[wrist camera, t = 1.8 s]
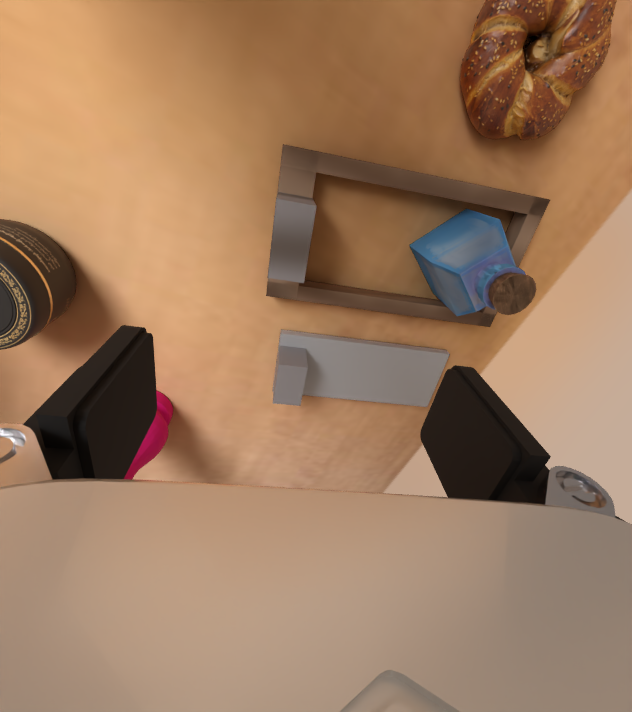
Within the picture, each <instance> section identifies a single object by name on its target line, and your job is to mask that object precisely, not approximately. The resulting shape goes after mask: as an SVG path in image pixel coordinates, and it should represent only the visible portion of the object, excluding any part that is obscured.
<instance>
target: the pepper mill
mask: <svg viewBox="0 0 632 712" xmlns="http://www.w3.org/2000/svg"><path fill="white" fill-rule="evenodd" d="M156 394H157V412H156V416H155V418H154V420H153V422H152V424H151V426H150V428H149V430H148V432H147V434H146V436H145V438H144V440H143V442H142V444H141V446H140V448H139V450H138V452H137V454H136V456H135V458H134V460H133V462H132V464H131V466H130V468H129V470H128V472H127V474H126V476H125V478H124V479H130V480H132V479H133V477H134V475H135V474H136V473H137V471H138V470H139V469H140V468H142V467H143V466H144V465H145V464H147V463H148V462H149V461H151V460H152V459H153V458H154V457H155V456H156V455H157V454H158V453H159V452H160V451H161V449H162V448H163V446H164V444H165V443H166V440H167V438H168V427H167V426H168V425H169V422H170V420H171V418H172V415H173V407H172V405H171V402H170V401H169V400H168V398H167V397H166V396H165V395H163V394H162V393H160V392H158V391H156Z"/></svg>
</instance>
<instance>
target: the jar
mask: <svg viewBox="0 0 632 712" xmlns="http://www.w3.org/2000/svg"><path fill="white" fill-rule="evenodd" d="M75 291H76V276H75V272H74V269H73V267H72V264H71V262H70V261H69V259H68V257H67V256H66V254H65V253H64V252H63V250H62V249H61V248H60V247H59V246H58V245H57V244H56V243H55V242H54V241H53V240H52V239H51V238H49V237H48V236H47V235H45V234H44V233H42V232H41V231H39V230H37V229H35V228H33V227H31V226H29V225H26V224H23V223H20V222H16V221H11V220H4V219H0V350H1V349H7V348H11V347H14V346H17V345H19V344H22V343H23V342H25V341H27V340H28V339H30V338H31V337H33V336H35V335H37V334H38V333H39V332H41V331H42V330H43V329H44V328H45V327H46V326H47V325H48V324H50V323H51V322H52V321H54V320H55V319H56V318H58V317H59V316H60V315H61V314H63V313H64V312H65V311H66V309H67V308H68V307H69V305H70V303H71V301H72V299H73V297H74V295H75Z"/></svg>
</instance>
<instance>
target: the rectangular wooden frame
mask: <svg viewBox="0 0 632 712" xmlns="http://www.w3.org/2000/svg"><path fill="white" fill-rule="evenodd" d="M316 172H317V173H322V174H327V175H332V176H337V177H342V178H347V179H352V180H357V181H362V182H367V183H373V184H378V185H383V186H388V187H393V188H398V189H403V190H408V191H413V192H418V193H423V194H428V195H433V196H438V197H443V198H448V199H453V200H458V201H463V202H469V203H474V204H479V205H484V206H489V207H494V208H499V209H504V210H509V211H514V212H515V213H514V216H513V218H512V220H511V222H510V225H509V227H508V229H507V232H506V234H505V235H506V238H507V241H508V244H509V247H510V250H511V253H512V256H513V259H514V262H515V265H516V267H519V265H520V262H521V260H522V258H523V256H524V254H525V252H526V250H527V248H528V246H529V243H530V241H531V239H532V237H533V235H534V233H535V231H536V229H537V227H538V225H539V222H540V220H541V218H542V216H543V214H544V212H545V210H546V208H547V206H548V203H549V201H550V200H549V199H544V198H539V197H534V196H530V195H525V194H520V193H515V192H510V191H505V190H501V189H496V188H491V187H486V186H481V185H477V184H472V183H467V182H462V181H457V180H452V179H448V178H443V177H438V176H433V175H428V174H424V173H419V172H414V171H409V170H404V169H399V168H395V167H390V166H385V165H380V164H375V163H371V162H366V161H361V160H356V159H351V158H346V157H342V156H337V155H332V154H327V153H322V152H317V151H313V150H308V149H303V148H298V147H293V146H289V145H284V144H283V148H282V157H281V167H280V176H279V185H278V193H277V198H276V206H275V216H274V225H273V234H272V243H271V252H270V261H269V270H268V285H267V294H266V296H270V297H278V298H285V299H292V300H299V301H306V302H314V303H321V304H328V305H335V306H342V307H350V308H357V309H364V310H371V311H378V312H386V313H393V314H400V315H407V316H414V317H422V318H429V319H436V320H443V321H451V322H458V323H465V324H472V325H479V326H487V327H490V326H491V324H492V321H493V319H494V317H495V315H496V313H497V310H494V309H491V308H489V307H488V306H486V307H484V308H482V309H481V310H479V311H477V312H474V313H469V314H465V315H461V316H456V315H455V314H454V313H453V312H452V311H451V310H450V309H449V308H448V307H447V306H446V305H445V304H444V303H443V302H442V301H441V300H434V299H427V298H420V297H414V296H407V295H400V294H393V293H387V292H380V291H373V290H366V289H360V288H353V287H346V286H339V285H333V284H326V283H319V282H312V281H306V280H305V274H306V268H307V262H308V256H309V250H310V243H311V237H312V231H313V225H314V219H315V213H316V207H317V206H316V204H315V202H314V200H313V199H312V197H313V190H314V184H315V177H316Z"/></svg>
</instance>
